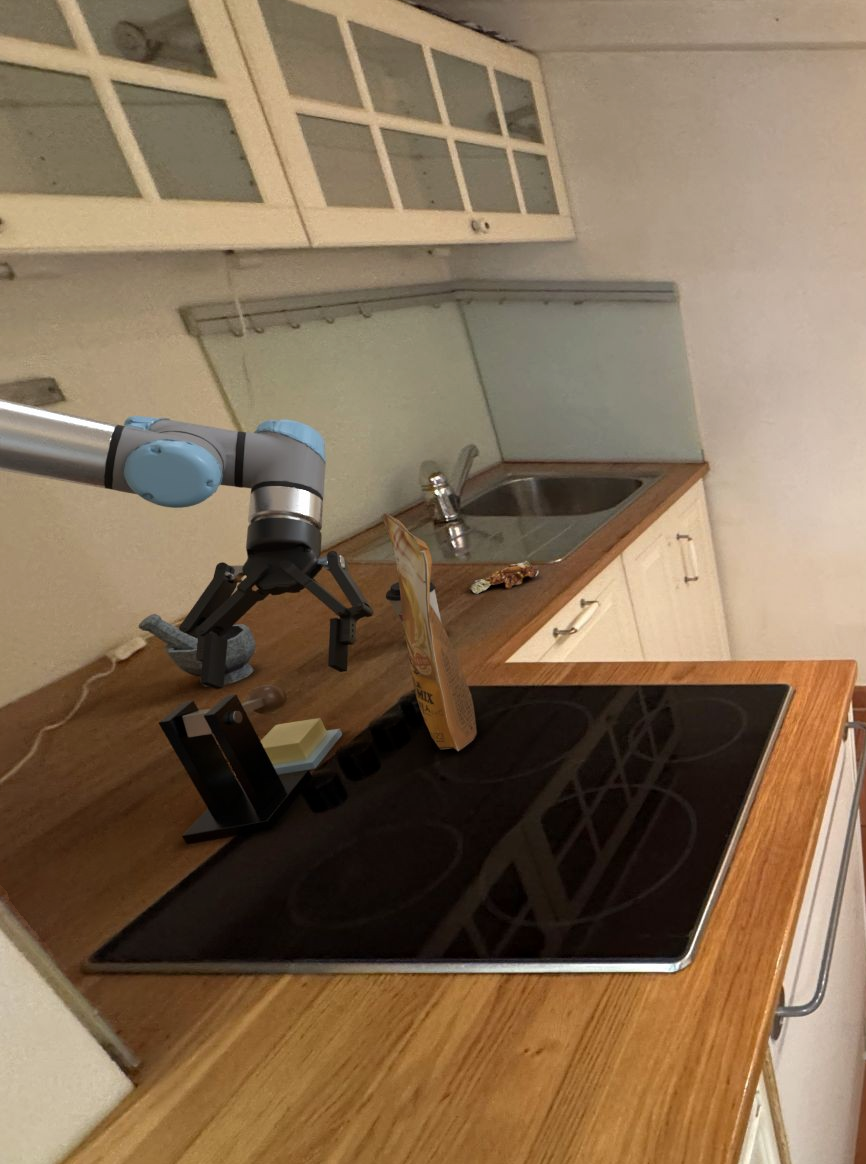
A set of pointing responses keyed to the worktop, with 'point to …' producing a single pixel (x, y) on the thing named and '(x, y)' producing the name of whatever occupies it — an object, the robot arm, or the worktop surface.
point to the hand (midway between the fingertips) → (275, 677)
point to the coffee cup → (395, 600)
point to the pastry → (506, 576)
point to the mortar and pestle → (185, 648)
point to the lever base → (227, 799)
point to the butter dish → (299, 745)
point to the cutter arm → (259, 701)
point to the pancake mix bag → (430, 646)
